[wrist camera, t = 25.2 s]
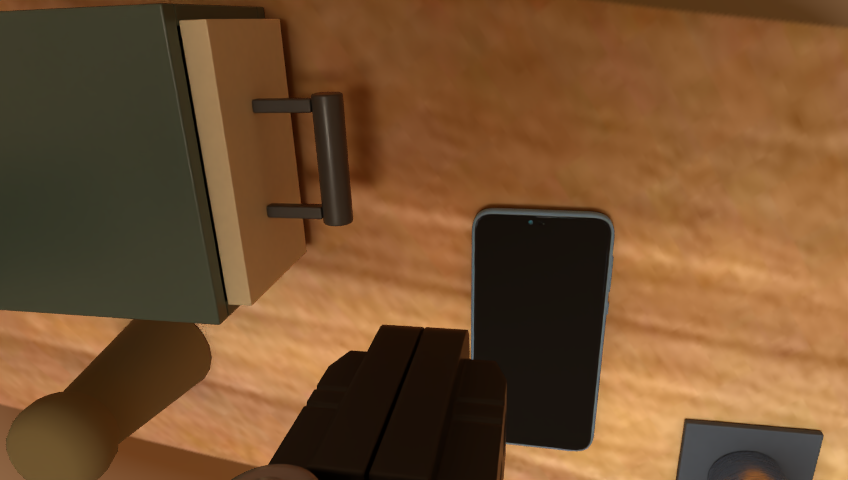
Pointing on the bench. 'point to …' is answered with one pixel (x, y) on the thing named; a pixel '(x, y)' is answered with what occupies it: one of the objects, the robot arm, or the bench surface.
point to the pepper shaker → (108, 401)
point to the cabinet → (104, 166)
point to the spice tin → (746, 467)
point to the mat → (747, 447)
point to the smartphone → (543, 317)
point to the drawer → (258, 150)
